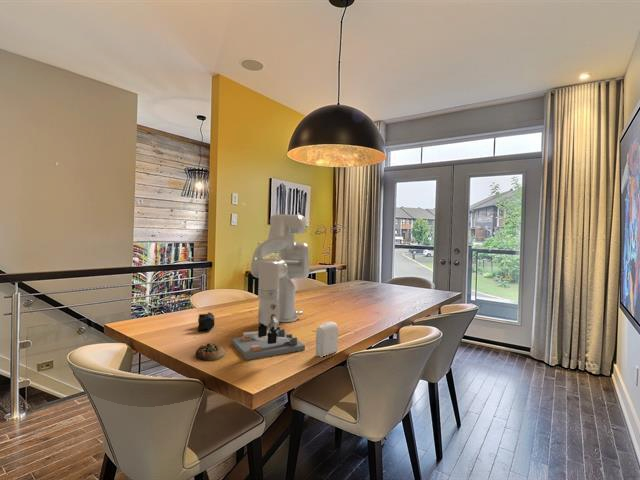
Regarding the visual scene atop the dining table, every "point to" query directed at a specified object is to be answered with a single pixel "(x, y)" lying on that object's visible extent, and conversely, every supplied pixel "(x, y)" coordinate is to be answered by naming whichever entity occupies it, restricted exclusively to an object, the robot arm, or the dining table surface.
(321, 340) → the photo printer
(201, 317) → the end cap
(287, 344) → the clamp board
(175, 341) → the dining table surface
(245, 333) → the strap
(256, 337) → the strap
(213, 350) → the bread roll
